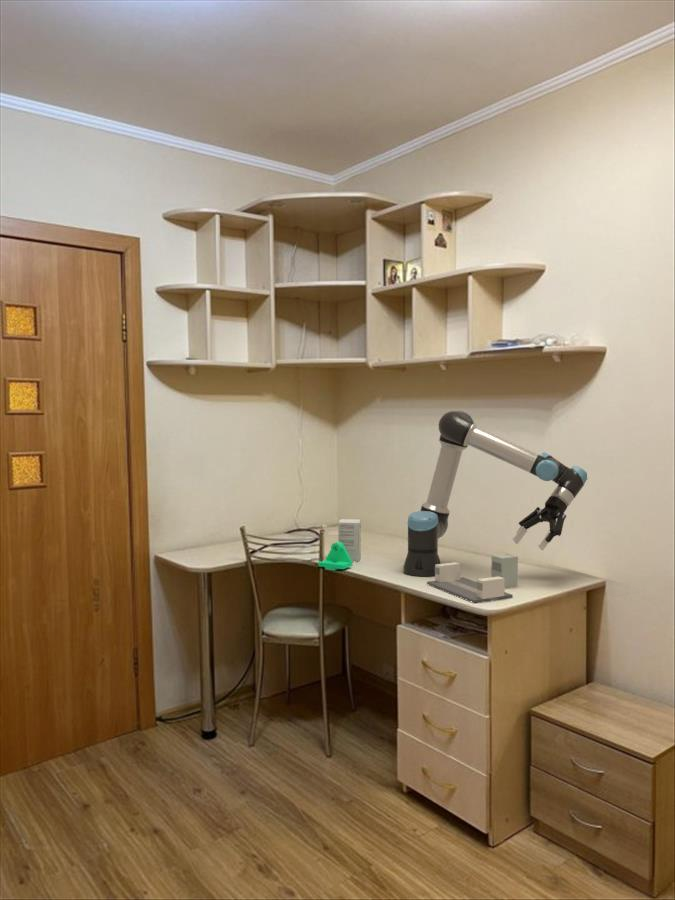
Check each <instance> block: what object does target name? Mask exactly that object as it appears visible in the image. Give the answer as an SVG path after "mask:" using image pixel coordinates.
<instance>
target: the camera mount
mask: <svg viewBox="0 0 675 900" xmlns="http://www.w3.org/2000/svg"><path fill="white" fill-rule="evenodd" d="M321 561H322V560H320V561H318V562H317V563H318V565H317V566H318V567H323V568H324V570H328V571H329V570H330V571H338V570H344V569H348V568H350V567H352V566H353V562H352V560H351V558H350V556H349V554H348V552H347V551H346V549H345V547H344V545H343V543H342V542H338V541H337V542H334V543H332V544H331V546H330V550H329V553H328V554H327V555H326V557H325V559H323V561H322V562H321Z"/></svg>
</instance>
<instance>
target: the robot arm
mask: <svg viewBox="0 0 675 900" xmlns="http://www.w3.org/2000/svg"><path fill="white" fill-rule="evenodd" d="M438 431H439V433H440V436H439V440H438V441H439V443H440V445H441V447H440V449H439V450H440V451H439V454H438V458H437V462H436V465H435V468H434V469H435V470H434V473H433V477H432V481H431V483H430V487H429V491H428V495H427V499H426V501H425V502H423V503H422V504H421V508H420V510H418V511H414V512H411V513H410V514H409V515H408V516H407V517H408V518H407V553H406V557H405V561H404V563H403V566H402V567H403V569H402V570H403V571H402V572H403V574H405V575H408V576H414V577H435V565H436V564H442V563H441V559H440V557H439V554H438V553H439V552H438V551H439V550H438V545H439V544H438V543H439V541H438V540H439V539H440V538H441V537H443V536H444V535H445V533H446V532H447V530H448V527H449V521H448V519H449V516H450V512H451V511H450V509H449V508H448V507H449V506H448V505H449V501H450V497H451V494H452V490H453V487H454V483H455V479H456V476H457V472H458V468H459V465H460V461H461V458H462V457H461V456H462V453H463V451H464V450H466V449H467V448H468V446H470V447H472V448H474V449H476V450H479V451H481V452H482V453H486V454H488V455H490V456H492V457H495V458H496V459H498V460H501V461H503V462H505V463H507V464H509V465H512V466H514V467H516V468H519V469H521V470H523V471H525V472H528V473H530V474H532V475H533V476H536V477H537V478H539V479H540V480H541V481H544V482H550V481H552V482H554V483H555V484H556V485H557V486H556V487H555V488H554V490H553V491H552V493H551V494H550V496H548V498H547V499H546V501H545V502H544V508H542V509H541V508H540V506H537V507H536V508H535V509H534V510H533V511H532V512H531V513H529V514H528V515H527V516H526V517H524V518H523V519H522V520H519V522H518V525H519V526H520V527H519V529H518V530H517V531H516V534H515V535H514V536H513V537H512V540H513V542H514V543H515V544H517V545H518V544H519V543H520V542H521V540H522V539H523V538H524V536H525V535H526V533H527V532H528V530H529V529H530V528H531V527H534V526H535V525H537V524H539V523H544V522H547V523H549V525H548V526H549V531H547V532H546V533H545V534H544V536H543V537H542V538H541V540H540V541H539V543H538V544H537V546H538V547H539V549H540V550H541V551H544V550H545V548H546V547H547V546H548V544H549V543H550V542H552V540H553V539H554V538H555V537H556V536H558V537H560V536H561V535H562V533H563V532H562V531H563V527H564V523H565V520H566V518H567V515H566V514H565V511H567V509H568V508H569V506H570V505H571V503H572V502H573V501H574V500H575V498H576V497H577V495H578V494H579V493H580V491H581V490H582V489H583V487H584V486H585V484H586V483H585V482H587V481H588V479H587V474H588V472H587V471H586V470H585V469H584V468H582V467H580V466H577V465H573V466H571V467H568V466H566V465H565V464H563V463H562V462H560V461H559V460H558V459H557V458H555V457H553V455H550V454H548V453H547V452H541V454H538V453H536V452H534V451H531V450H529V449H526V448H525V447H523V446H521V445H519V444H516V443H513V442H512V441H509V440H507V439H504V438H502V437H500V436H498V435H495V434H493V433H491V432H489V431H486V430H484V429H482V428H480V427H478V426H477V424H476V422H474V420H473V418H472V416H471V415H470V414H468V413H467V412H465V411H461V410H455V411H454V410H451V411H448V412H445V413H444V414H443V415H442V416H441V418H440V419H439V421H438ZM586 480H587V481H586Z"/></svg>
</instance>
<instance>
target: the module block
mask: <svg viewBox="0 0 675 900" xmlns="http://www.w3.org/2000/svg"><path fill="white" fill-rule="evenodd" d="M518 562H519V556H517V555H514V554H510V553H500V554H492V555H491V567H490V568H491V570H490V571H491V573H490V574H491V575H490V578H491V577H498V576H499V577H502V578H505V583H504V588H505V589H511V588H510V587H513V588H518V577H519V576H518V573H519V572H518V570H519V569H518V567H519V563H518Z"/></svg>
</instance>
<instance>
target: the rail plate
mask: <svg viewBox="0 0 675 900" xmlns="http://www.w3.org/2000/svg"><path fill="white" fill-rule="evenodd" d="M434 578H435V579H434V580H430V581H427V582H426V585H427V584H429V585H428V586H430V585H431V586H430V587H432V586H434V587H433V588H435V587H436V589H437V588H439V589H438V590H440V589H441V590H440V591H442V590H444V591H443V592H445V591H446V592H445V593H447V592H449V593H448V594H450V593H452V594H454V595H453V596H455V595H456V596H455V597H457V596H459V597H458V598H460V597H462V598H464V599H463V600H465V599H467V600H469V601H468V602H470V601H472V602H474V603H473V604H476V603H475V602H480V603H483V602H482V601H487V602H492V601H491V600H494V601H498V600H506V599H507V600H508V599H512V598H513V596H514V594H512V593H509V592H506V591H505V589H504V583H505V578H502V577H499V576H498V577H491V576H490V577H485V578H484V577H483V578H477V580H476V581H475V580H472V579H469V578H467V577H464V576H462V577H461V563H459V562H447V563H441V564H436V565H435V576H434ZM452 594H451V595H452ZM462 598H461V599H462ZM467 600H466V601H467ZM472 602H471V603H472Z"/></svg>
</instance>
